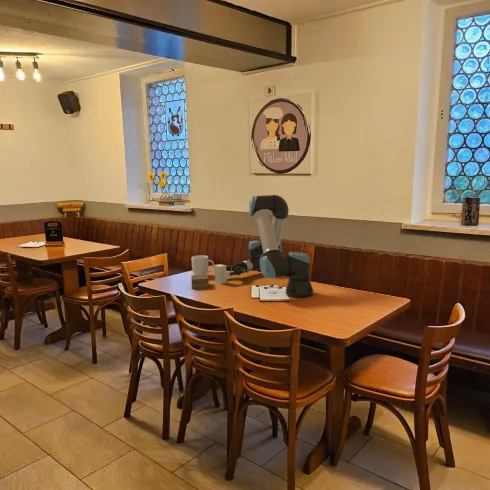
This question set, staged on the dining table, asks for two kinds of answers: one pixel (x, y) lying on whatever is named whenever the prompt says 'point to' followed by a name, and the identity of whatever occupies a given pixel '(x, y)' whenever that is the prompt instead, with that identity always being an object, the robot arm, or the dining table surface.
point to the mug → (201, 264)
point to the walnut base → (200, 281)
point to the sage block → (220, 274)
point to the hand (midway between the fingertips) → (218, 273)
